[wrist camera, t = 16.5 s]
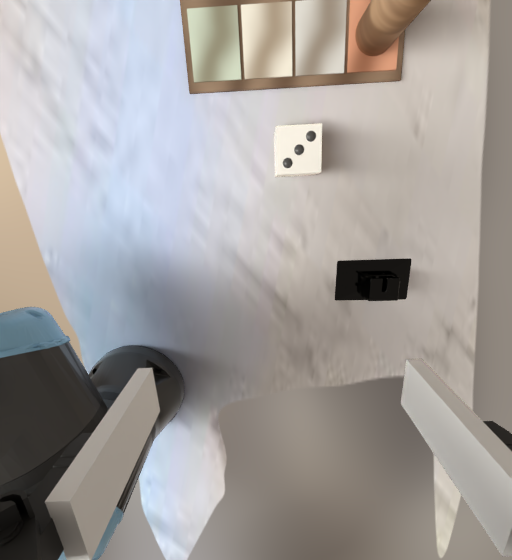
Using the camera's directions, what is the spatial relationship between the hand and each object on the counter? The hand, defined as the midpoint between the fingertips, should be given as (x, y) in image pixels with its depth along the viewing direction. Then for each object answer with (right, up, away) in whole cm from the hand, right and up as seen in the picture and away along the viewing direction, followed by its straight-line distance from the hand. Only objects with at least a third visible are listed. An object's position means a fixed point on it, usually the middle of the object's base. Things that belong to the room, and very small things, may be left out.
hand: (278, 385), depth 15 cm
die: (+4, +22, +21) cm, 30 cm away
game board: (+3, +33, +18) cm, 37 cm away
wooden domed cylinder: (+12, +33, +17) cm, 39 cm away
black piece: (+16, +6, +27) cm, 32 cm away
